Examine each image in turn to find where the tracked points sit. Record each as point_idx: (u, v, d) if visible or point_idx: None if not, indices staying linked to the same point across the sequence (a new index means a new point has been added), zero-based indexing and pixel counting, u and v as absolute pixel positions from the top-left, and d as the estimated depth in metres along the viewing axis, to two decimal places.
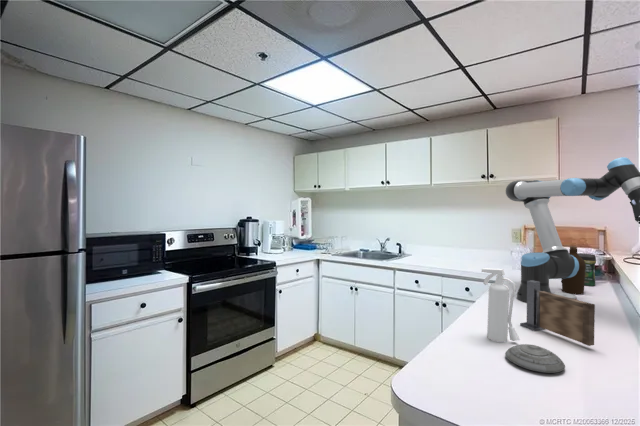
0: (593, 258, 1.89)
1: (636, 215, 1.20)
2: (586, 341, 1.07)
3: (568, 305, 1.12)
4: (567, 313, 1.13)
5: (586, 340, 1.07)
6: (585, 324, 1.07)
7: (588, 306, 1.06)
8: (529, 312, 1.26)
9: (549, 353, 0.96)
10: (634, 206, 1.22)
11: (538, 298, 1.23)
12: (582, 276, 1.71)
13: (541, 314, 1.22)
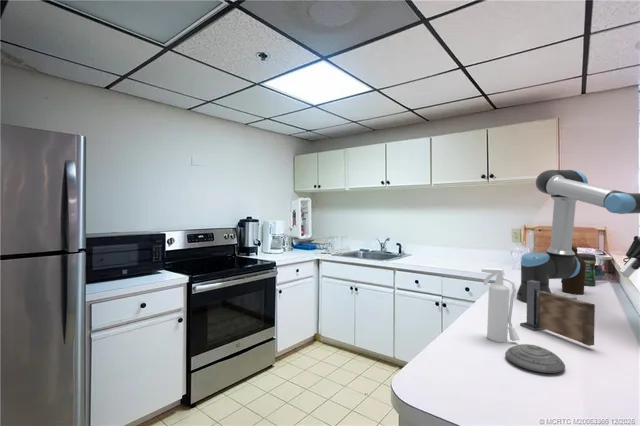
0: (593, 258, 1.89)
1: None
2: (586, 341, 1.07)
3: (568, 305, 1.12)
4: (567, 313, 1.13)
5: (586, 340, 1.07)
6: (585, 324, 1.07)
7: (588, 306, 1.06)
8: (529, 312, 1.26)
9: (549, 353, 0.96)
10: None
11: (538, 298, 1.23)
12: (582, 276, 1.71)
13: (541, 314, 1.22)
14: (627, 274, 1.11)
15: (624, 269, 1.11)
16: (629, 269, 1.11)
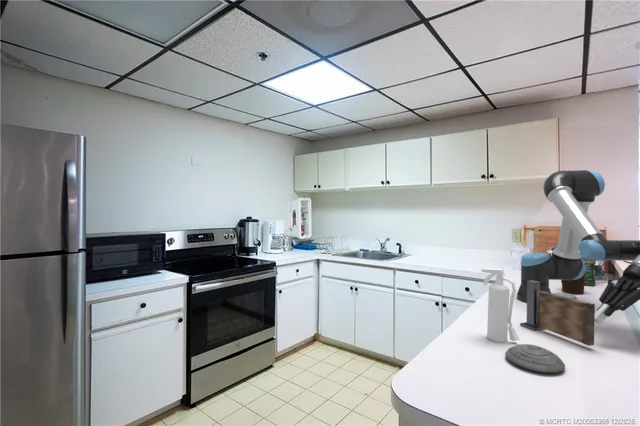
0: None
1: (624, 303, 1.06)
2: (586, 341, 1.07)
3: (568, 305, 1.12)
4: (567, 313, 1.13)
5: (586, 340, 1.07)
6: (585, 324, 1.07)
7: (588, 306, 1.06)
8: (529, 312, 1.26)
9: (549, 353, 0.96)
10: (638, 295, 1.05)
11: (538, 298, 1.23)
12: (582, 276, 1.71)
13: (541, 314, 1.22)
14: (599, 321, 1.10)
15: (596, 316, 1.10)
16: (601, 316, 1.10)
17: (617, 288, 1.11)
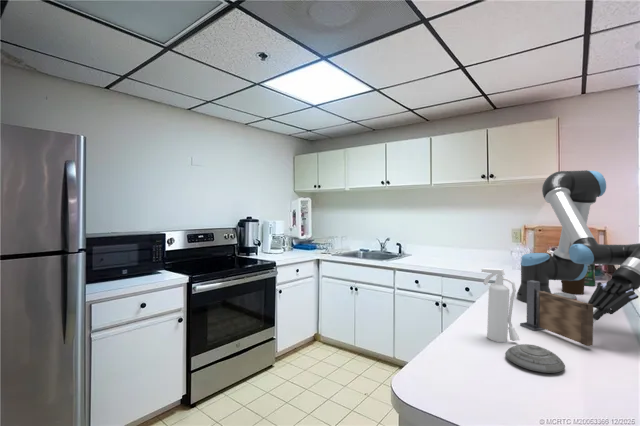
0: None
1: (613, 307, 1.06)
2: (584, 341, 1.07)
3: (567, 305, 1.12)
4: (566, 313, 1.13)
5: (584, 340, 1.07)
6: (583, 324, 1.07)
7: (586, 306, 1.06)
8: (529, 312, 1.26)
9: (549, 353, 0.96)
10: (626, 298, 1.05)
11: (538, 298, 1.23)
12: None
13: (541, 314, 1.22)
14: None
15: None
16: None
17: (606, 291, 1.11)
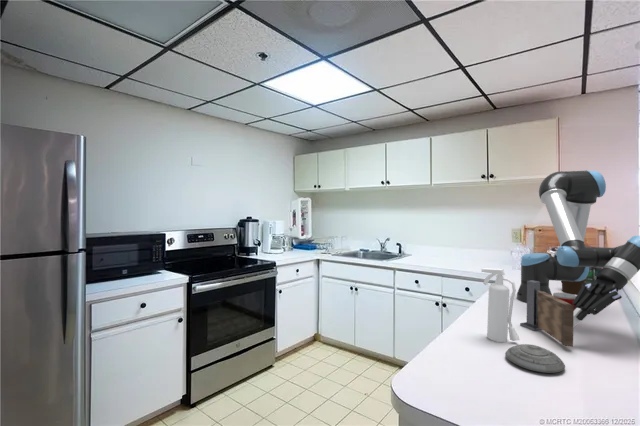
0: None
1: (596, 307, 1.06)
2: (563, 341, 1.07)
3: (554, 305, 1.12)
4: (553, 313, 1.13)
5: (563, 340, 1.07)
6: (562, 324, 1.07)
7: (564, 306, 1.06)
8: (529, 312, 1.26)
9: (549, 353, 0.96)
10: (609, 299, 1.05)
11: (537, 298, 1.23)
12: None
13: (538, 314, 1.22)
14: None
15: None
16: (574, 320, 1.09)
17: (590, 291, 1.11)
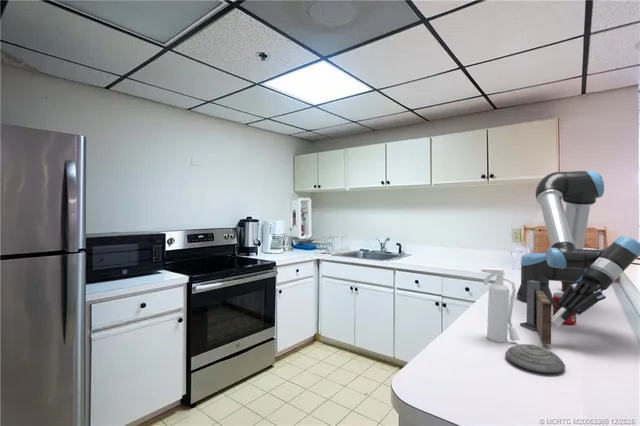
0: None
1: (580, 307, 1.06)
2: (541, 339, 1.09)
3: (540, 304, 1.14)
4: (540, 312, 1.14)
5: (542, 338, 1.09)
6: (541, 322, 1.09)
7: (542, 304, 1.08)
8: (529, 312, 1.26)
9: (549, 353, 0.96)
10: (593, 299, 1.05)
11: None
12: None
13: None
14: (556, 324, 1.09)
15: (553, 319, 1.09)
16: (558, 319, 1.09)
17: (575, 291, 1.11)
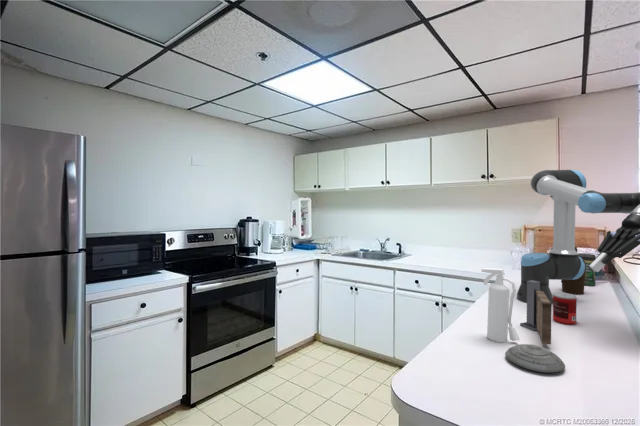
0: (593, 258, 1.89)
1: (622, 250, 1.08)
2: (541, 339, 1.09)
3: (540, 304, 1.14)
4: (540, 312, 1.14)
5: (542, 338, 1.09)
6: (541, 322, 1.09)
7: (542, 304, 1.08)
8: (529, 312, 1.26)
9: (549, 353, 0.96)
10: (635, 242, 1.07)
11: None
12: (582, 276, 1.71)
13: None
14: (597, 269, 1.12)
15: (594, 264, 1.12)
16: (599, 264, 1.12)
17: (615, 237, 1.13)
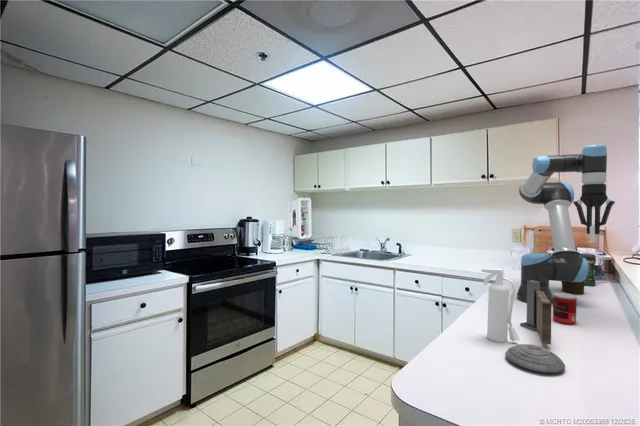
0: (593, 258, 1.89)
1: (606, 220, 1.27)
2: (541, 339, 1.09)
3: (540, 304, 1.14)
4: (540, 312, 1.14)
5: (542, 338, 1.09)
6: (541, 322, 1.09)
7: (542, 304, 1.08)
8: (529, 312, 1.26)
9: (549, 353, 0.96)
10: (610, 208, 1.26)
11: None
12: None
13: None
14: (595, 241, 1.31)
15: (593, 239, 1.30)
16: (595, 237, 1.30)
17: (589, 208, 1.30)
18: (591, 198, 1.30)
